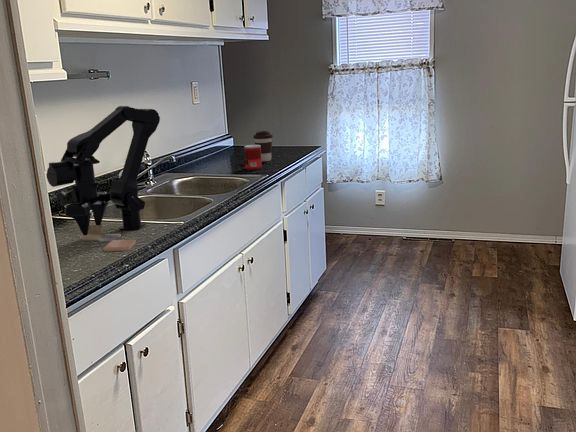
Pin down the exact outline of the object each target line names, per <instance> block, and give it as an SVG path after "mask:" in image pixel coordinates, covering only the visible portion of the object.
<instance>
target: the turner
mask: <svg viewBox="0 0 576 432" xmlns="http://www.w3.org/2000/svg"><path fill="white" fill-rule="evenodd" d="M79 232H80V238H81V241H98V242H111V241H112V240H119V238H121V237H122V234H121V233H105V234H104V227H103V224H101V225H96V224H89V229H88V234H87V235H83V233H82V232H81V230H80V229H79Z"/></svg>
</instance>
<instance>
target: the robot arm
mask: <svg viewBox="0 0 576 432" xmlns="http://www.w3.org/2000/svg"><path fill="white" fill-rule="evenodd" d="M127 121H129V122H131V126H132V127H131V128H132V132H133V133H132V134H133V135H132V138H131V141H130V145H129V148H128V152H127V155H126V158H125V162H124V166H123V169H122V172H121V175H120V177H119V178H118V179H117V180H115V179H113V180H111V181H112V182H111V187H110V188H109V190H108V192H107V191H97V187H98V186H99V181H96V176H95V168H94V165H95V164H96V165H97V164H99V163H100V160H98V159H97V158H96V157H95V156H93V155H95V153H96V151H98V150H99V147H100V144H101V143H102V142H103V140H105V139H106V138H107V137H109V136H110V135H111V134H112V133H113V132H114V131H116V130H117V129H118V128H120V126H122V125H124V124H125V123H126V122H127ZM160 122H161V117H160V115H159V113H158V111H157V110H155V109H152V108H135V107H131V106H129V105H118V106H117V107H116V108H115V109H114V110H113V111H112V112H111V113H110V114H108V115H107V116H106V117H104V118H103V119H102V120H100V122H98V123H97V124H96V125H94V126H93V128H91V129H88V130H87V131H85V132H83V133H80V134H78V135H76V136H73V137H72V138H70V139H69V140H68V141H67V143H66V149H65V151H64V154H63V156H62V157H61V159H60V161H56V162H55V161H53V162H48V168H47V170H46V175H45V176H46V179H47V182H48V184H49V185H50V187H52V188H54V187H60V186H65V185H71V184H73V183H74V184H73V185H72V186H71V188H72V189H71V190H70V191H68V192H65V190H62V191H59V192H58V193H56V197H55V199H56V203H58V204H59V205H61V206H62V207H64V206H65V207H64V209H63V210H64V216H66V217H68V218H71V219H72V220H73V219H74V220H75V222H76V223H77V225H78V228H79V231H80V230H81V232H82V233H83V235H87V234H88V229H89V225H90V222H91V216H92V217H93V220H94V223H95V224H94V225H102V222H103V219H104V215H105V213H106V211H107V207H108V205H109V204H110V203H109V202H112V204H114V206H115V208H116V209H118V210H119V209H120V211H121V220H122V225H121V226H120V227H119V228H118V229H119V231H121V230H122V231H123V230H124V231H127V230H128V231H129V230H135V231H137V230H140V229H141V228H143V226H145V225H146V223H145V222H142V218H141V210H144V209H145V204H146V203H145V201H144V200H143V199H141V198H140V197H139V196H138V194H139V187H138V182H137V181H138V176H139V173H140V170H141V166H142V162H143V160H144V159H143V158H144V155H145V153H146V149H147V146H148V141H149V140H150V138H151V136H152V135H153V134H154V133H155V132H156V131H157V129H158V126H159V124H160ZM91 211H92V212H91ZM81 232H80V233H81Z"/></svg>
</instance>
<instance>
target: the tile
mask: <svg viewBox="0 0 576 432" xmlns="http://www.w3.org/2000/svg"><path fill="white" fill-rule="evenodd" d="M136 243H137V241H136V239H117V240H112V241H109V242H108V244H106V246H104V248H103V250H104V252H111V251H113V252H115V251H118V252H119V251H130V250H131V249H132V248H133V247H134V245H136Z"/></svg>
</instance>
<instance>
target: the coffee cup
mask: <svg viewBox="0 0 576 432" xmlns="http://www.w3.org/2000/svg"><path fill="white" fill-rule="evenodd" d="M272 138H273V134H272V133H271V132H270V131H268V130H262V131H260V130H259V131H256V132H255V134H253V138H252V139H254V145H260V146H261V161H262V163H263V162H271V161H272V150H273V140H272Z"/></svg>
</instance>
